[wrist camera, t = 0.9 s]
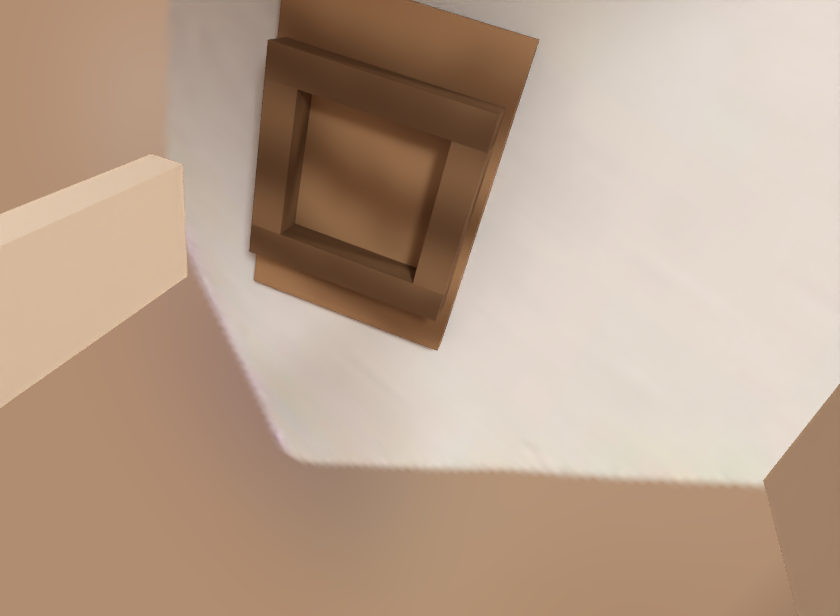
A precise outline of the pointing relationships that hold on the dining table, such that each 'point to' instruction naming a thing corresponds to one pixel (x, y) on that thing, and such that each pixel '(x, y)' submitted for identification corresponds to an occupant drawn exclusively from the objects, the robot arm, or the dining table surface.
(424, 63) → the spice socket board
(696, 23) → the dining table surface
